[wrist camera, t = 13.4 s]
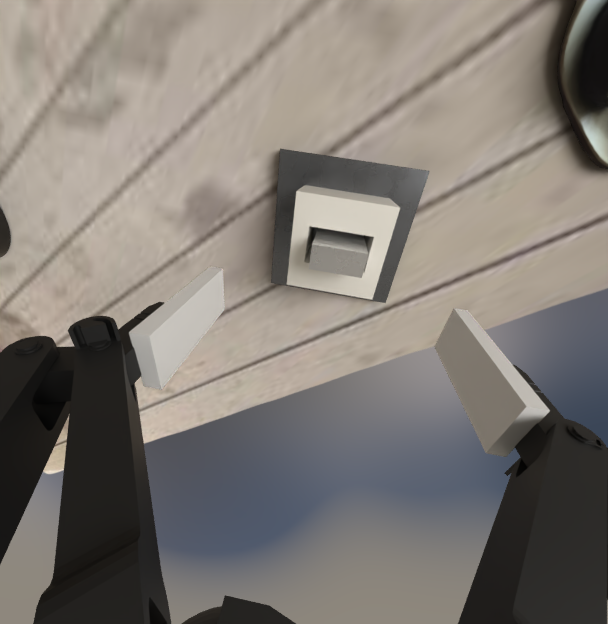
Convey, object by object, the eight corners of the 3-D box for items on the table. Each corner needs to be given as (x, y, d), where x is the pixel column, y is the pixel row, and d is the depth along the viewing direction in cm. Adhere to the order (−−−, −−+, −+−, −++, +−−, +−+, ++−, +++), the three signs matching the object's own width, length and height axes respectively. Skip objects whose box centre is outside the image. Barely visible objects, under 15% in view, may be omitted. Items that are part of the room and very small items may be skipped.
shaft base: (273, 278, 35) (249, 319, 26) (283, 149, 27) (253, 144, 18) (383, 297, 35) (397, 346, 26) (425, 170, 27) (466, 176, 18)
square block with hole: (305, 184, 28) (296, 191, 22) (389, 198, 27) (400, 207, 22) (295, 264, 32) (286, 284, 27) (367, 276, 32) (372, 299, 27)
